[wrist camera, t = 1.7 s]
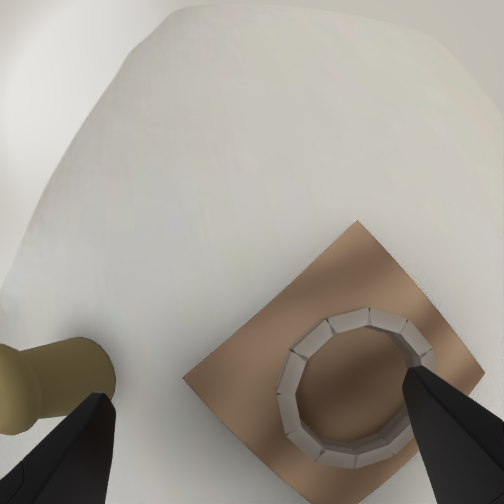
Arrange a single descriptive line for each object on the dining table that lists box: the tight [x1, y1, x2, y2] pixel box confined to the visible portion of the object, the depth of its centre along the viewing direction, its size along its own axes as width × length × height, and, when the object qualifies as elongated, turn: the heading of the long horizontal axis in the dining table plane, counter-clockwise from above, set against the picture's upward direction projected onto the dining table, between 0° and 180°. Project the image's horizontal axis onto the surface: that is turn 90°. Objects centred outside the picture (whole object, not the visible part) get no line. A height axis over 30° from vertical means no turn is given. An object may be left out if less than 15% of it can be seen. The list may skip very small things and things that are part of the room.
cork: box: [0, 337, 116, 435], centre depth 16 cm, size 6×6×11 cm
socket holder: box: [183, 220, 485, 504], centre depth 18 cm, size 16×16×4 cm
